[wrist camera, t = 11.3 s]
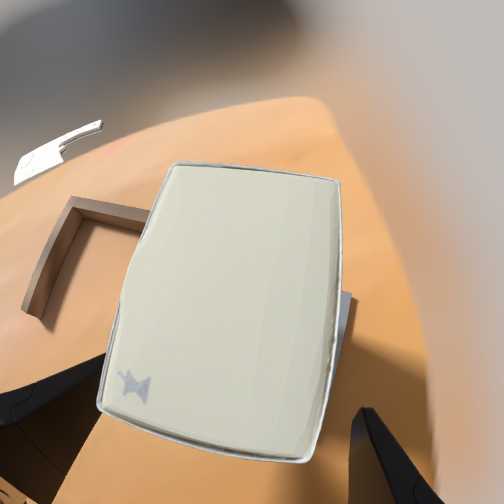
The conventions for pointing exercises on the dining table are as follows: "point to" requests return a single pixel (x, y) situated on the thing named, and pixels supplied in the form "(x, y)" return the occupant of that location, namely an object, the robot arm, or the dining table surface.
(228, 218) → the skincare box
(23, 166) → the white meat cleaver
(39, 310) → the walnut cubby
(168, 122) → the dining table surface
